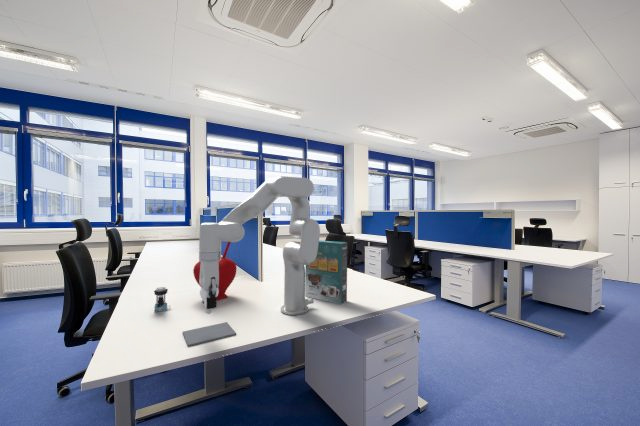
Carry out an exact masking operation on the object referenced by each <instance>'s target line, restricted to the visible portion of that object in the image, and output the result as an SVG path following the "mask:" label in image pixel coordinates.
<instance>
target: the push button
mask: <svg viewBox="0 0 640 426" xmlns="http://www.w3.org/2000/svg"><path fill="white" fill-rule="evenodd" d="M168 291H169V289H168V288H166V287H164V286H162V287H161V286H160V287H157V288H155V290H153V293H154V296H156V297H155V298H156V300H155V301H156V302H155V304H154V309H153V311H154V312H163V311H167V310H168V309H171V305H168V303H167V302H166V294H168Z"/></svg>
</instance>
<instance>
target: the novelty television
mask: <svg viewBox="0 0 640 426" xmlns="http://www.w3.org/2000/svg"><path fill="white" fill-rule="evenodd" d="M231 243H232V242H227V244H226V246H225V249H224V252H223V255H221V260H220V261H218V263H219V286H218V289H219V293H218V296H217V298H216V302H217V301H219V300H224V299H227V298H228V295H227V293H226V292H227V290H228V288H229V287H230V286H231V284H232V283H233V282H234V280H235V278H236V275H237V274H236V273H237V264H236V262H235V261H234V260H232V259H230V258H228V257H226V256H227V253H228V251H229V248H230V245H231ZM200 265H201V262H200V261H199V260H198V262H197V263H195V265H194V267H193V269H192V272H193V276H194V278H195V279H194V280H195V281H196V283H197V284H198V286H199V287H200V289H201V288H202V287H201V286H200V285H199V279H200Z"/></svg>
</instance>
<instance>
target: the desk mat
mask: <svg viewBox="0 0 640 426" xmlns="http://www.w3.org/2000/svg"><path fill="white" fill-rule="evenodd" d="M182 335H183V338H184V340H185V343H186V345H187V348H188V347H192V346H197V345H200V344H205V343H208V342H213V341H216V340H220V339H225V338H229V337H232V336H236V335H237V332H235V330H234V329H233V328H232V326H231V325H230V324H229V323H228V321H226V322H225V321H224V322H220V323H217V324H212V325H206V326H202V327H198V328H197V327H196V328H191V329H188V330H185V331H182Z"/></svg>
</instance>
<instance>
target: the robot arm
mask: <svg viewBox="0 0 640 426" xmlns="http://www.w3.org/2000/svg"><path fill="white" fill-rule="evenodd" d="M314 189H315V186H314V183H313V181H312V180H311V179H309V178H307V177H297V176H274V177H270V178H268V179H266V180H265V181H264V182H263V183H262V184H261V185H260V186H259V187H258V188H257V189H255V191H253V193H252V194H251V195H250V196H249V197H248V198H247V199H245V200H244V201H242V202H241V203H240V204H239V205H238V206H236V207H235V208H233V209H232V210H230V212H229V213H228V214H227V215H225V216H224V217H223V218H222V219H221V220H220V221H219V222H202V223H200V225H199V234H198V235H199V240H198V241H199V242H198V247H199V248H198V249H199V250H198V262H199V261H200V262H201V265H200V279H199V284H198V286H199V285H200V286H201V287H202V288H203V289H204V290H206V289H207V293H208V297H207V309H212V308H213V309H216V308H217V301H216V298H217V297H216V296H217V295H216V291H217V288H218V286H219V263H218V261H220V260H221V257H222V242H225V243H226V242H227V243H228V242H231V243H237V242H240V241H241V240H242V239H244V237H245V234H246V232H245V228H244V226H243V224H245V223H246V222H248V221H250V220H252V219H254V218H257V217H259V216H261V215H262V214H264V213H265V212H266V211H267V210H268V209H269V207H270V206H271V205H273V203H275V201H276V200H277V199H278V198H285V197H286V198H287V199H288V200H289V202H290V204H291V213H290V221H289V226H288V233H289V235H290V236H291V238H294V239H299V240H300V241H295V240H293V241H288V242H287V243H286V244H285V245H284V246H283V249H282V258H283V265H284V268H283V269H284V277H283V278H284V279H283V280H284V288H283V289H284V291H283V292H284V293H283V294H284V295H283V299H284V301H283V305H281V306H280V312H281V313H283V314H284V315H289V316H297V315H302V314H303V315H304V314H305V313H308V311H309V307H308V306H309V305H312V304H314V303H315V301H314V298H310V299H309V298H306V297H305V272H306V265H310V264H312V263H313V262H314V261H315V259H316V257H317V252H318V245H319V240H320V237H321V236H320V235H321V228H320V224H319V222H318V221H317V220H315V219H314V218H310V214H311V205H310V202H309V200H308V198H310V196H312V194H313V193H314ZM200 286H199V287H200ZM201 287H200V288H201ZM209 287H212V288H209ZM210 290H212V291H211V292H210ZM201 301H202V304H203V305H205V304H204V301H203V300H201Z"/></svg>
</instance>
